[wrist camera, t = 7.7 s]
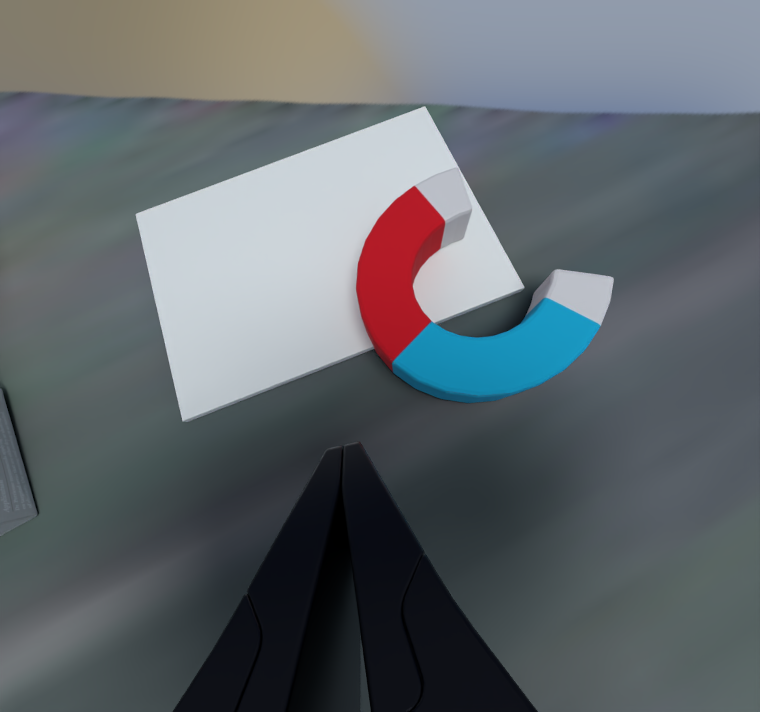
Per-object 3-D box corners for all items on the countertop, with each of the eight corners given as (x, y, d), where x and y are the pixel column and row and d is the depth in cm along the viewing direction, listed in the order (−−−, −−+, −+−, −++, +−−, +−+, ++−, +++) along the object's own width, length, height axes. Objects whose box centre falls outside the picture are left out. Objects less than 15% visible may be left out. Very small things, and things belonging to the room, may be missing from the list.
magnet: (479, 453, 17) (602, 313, 18) (494, 456, 14) (636, 291, 15) (318, 304, 19) (436, 191, 20) (304, 282, 16) (441, 153, 18)
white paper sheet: (521, 291, 19) (524, 287, 19) (188, 421, 18) (182, 421, 18) (424, 113, 22) (425, 106, 22) (141, 218, 22) (135, 213, 21)
